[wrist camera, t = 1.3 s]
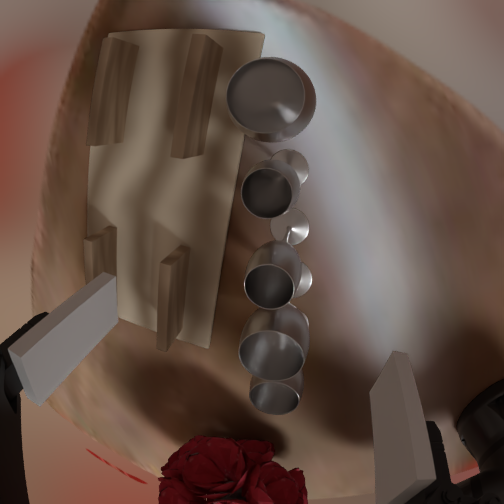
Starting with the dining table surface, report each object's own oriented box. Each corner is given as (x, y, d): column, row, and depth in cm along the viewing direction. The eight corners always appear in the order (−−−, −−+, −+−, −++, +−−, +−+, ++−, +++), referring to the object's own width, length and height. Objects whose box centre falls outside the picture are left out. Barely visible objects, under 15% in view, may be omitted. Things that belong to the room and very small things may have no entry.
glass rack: (265, 35, 25) (253, 16, 20) (209, 346, 39) (194, 374, 34) (111, 34, 27) (81, 24, 22) (93, 304, 41) (70, 324, 36)
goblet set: (313, 341, 36) (305, 430, 24) (265, 338, 37) (239, 423, 25) (315, 81, 26) (312, 41, 14) (254, 83, 27) (207, 50, 15)
